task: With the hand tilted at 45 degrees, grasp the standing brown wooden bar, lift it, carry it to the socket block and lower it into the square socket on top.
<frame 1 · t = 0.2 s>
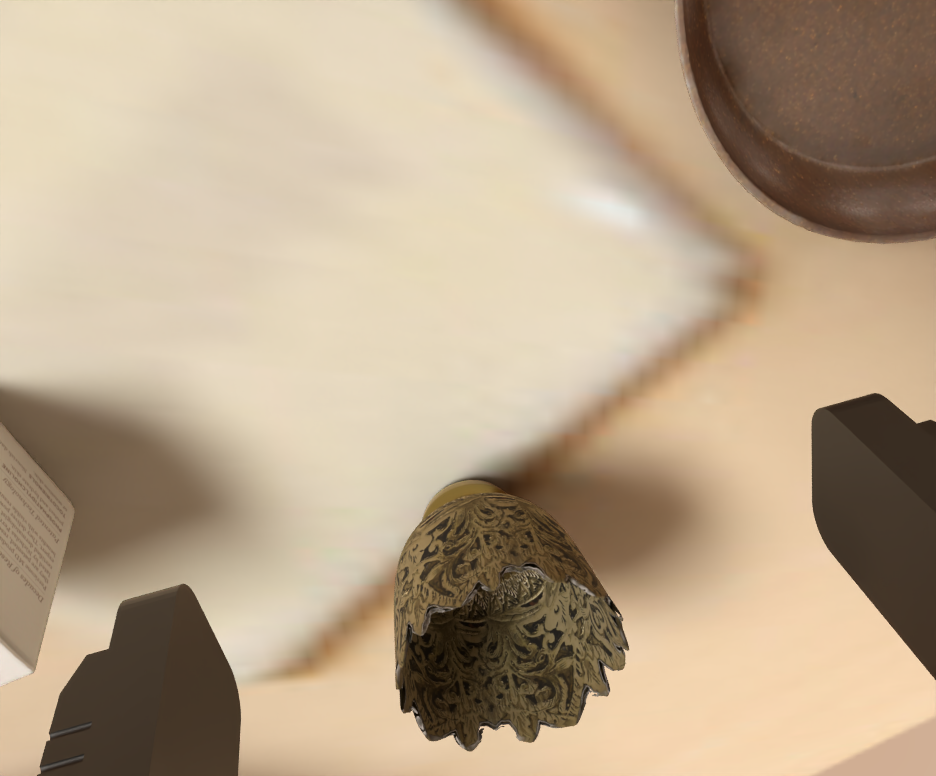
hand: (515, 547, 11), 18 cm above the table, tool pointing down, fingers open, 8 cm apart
cup: (464, 506, 35), on the table
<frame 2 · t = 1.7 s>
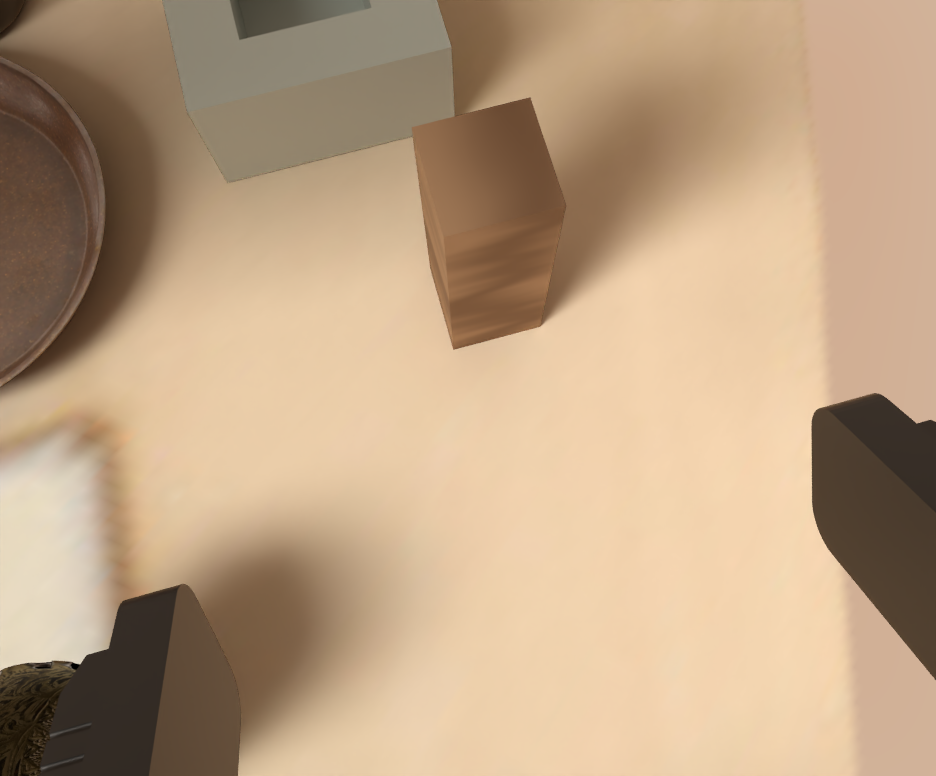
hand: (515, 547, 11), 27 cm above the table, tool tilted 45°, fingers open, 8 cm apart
socket block: (315, 55, 44), on the table
brown wooden bar: (484, 297, 40), on the table
cup: (130, 748, 36), on the table
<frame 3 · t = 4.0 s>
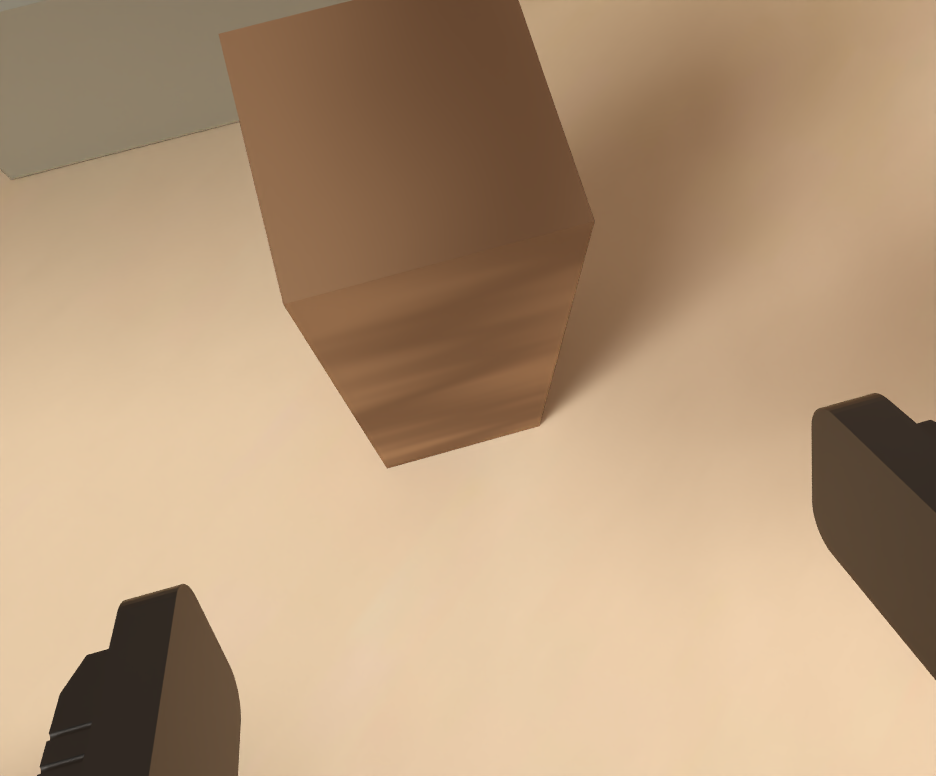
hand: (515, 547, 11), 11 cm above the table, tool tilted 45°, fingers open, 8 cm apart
brown wooden bar: (442, 373, 23), on the table
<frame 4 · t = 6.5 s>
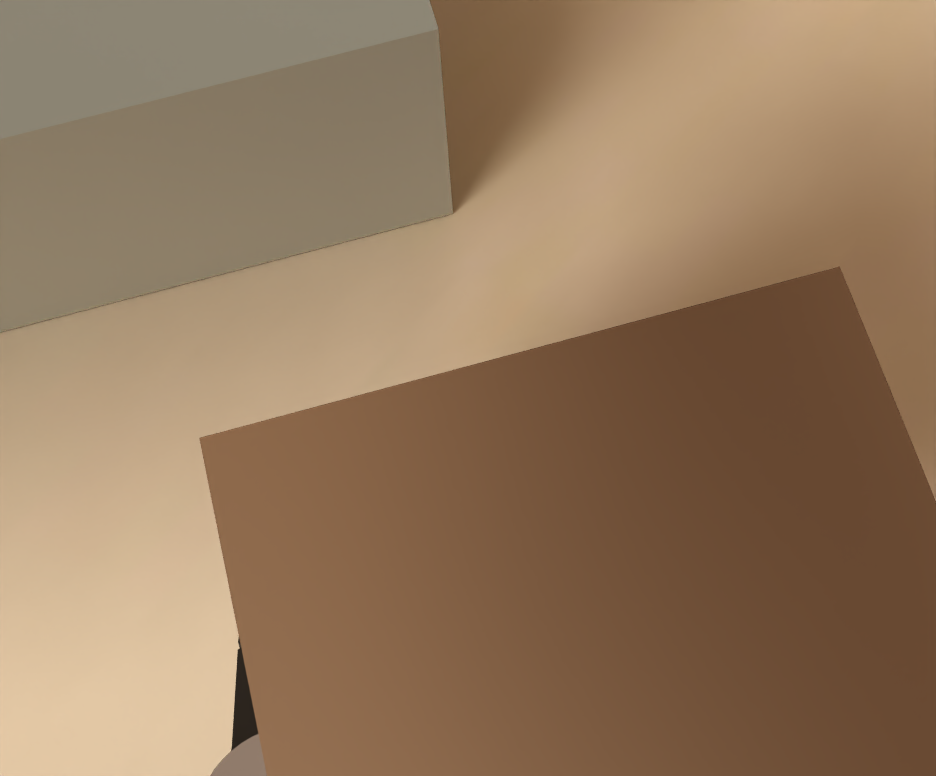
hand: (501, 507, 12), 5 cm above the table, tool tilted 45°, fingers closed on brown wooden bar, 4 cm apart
socket block: (147, 56, 20), on the table
brown wooden bar: (526, 644, 16), on the table, touching gripper
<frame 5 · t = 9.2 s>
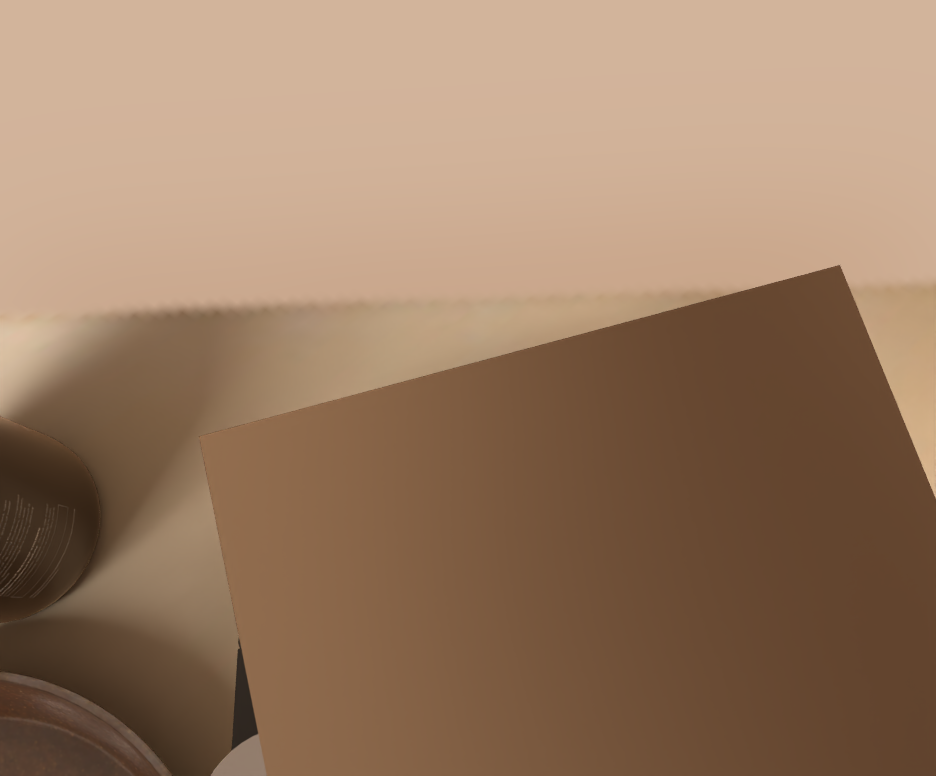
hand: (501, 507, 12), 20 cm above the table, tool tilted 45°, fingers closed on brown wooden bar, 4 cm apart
brown wooden bar: (526, 643, 16), point 15 cm above the table, touching gripper
supplement bottle: (14, 527, 32), on the table
when the fingers open (8 cm above the table, at t = 12.3 s): brown wooden bar drops 1 cm, resting on socket block.
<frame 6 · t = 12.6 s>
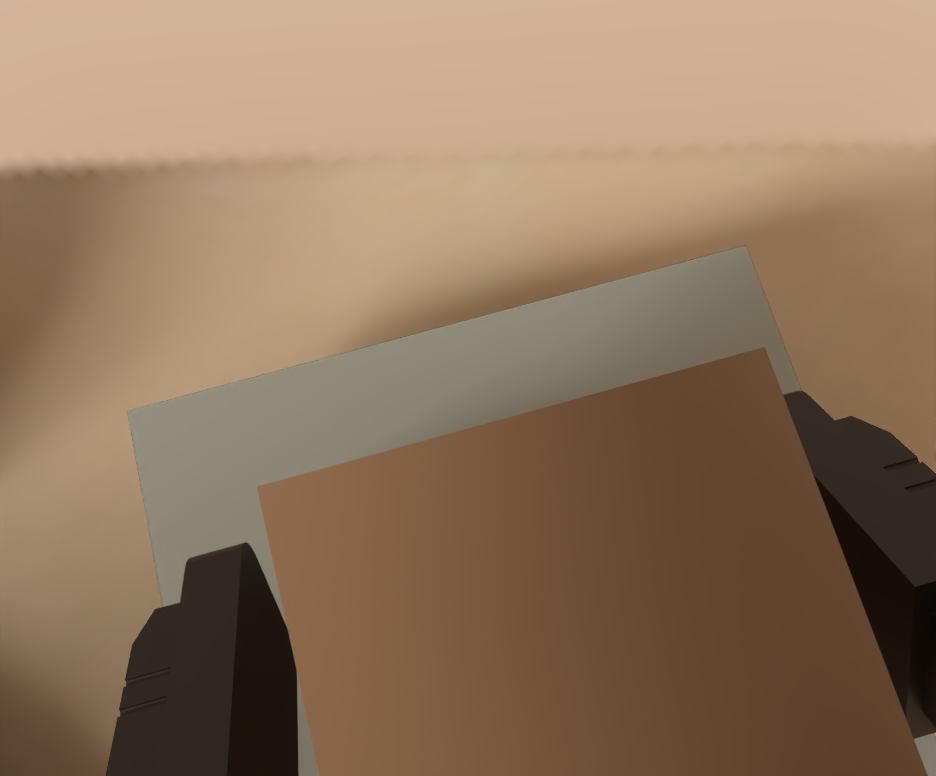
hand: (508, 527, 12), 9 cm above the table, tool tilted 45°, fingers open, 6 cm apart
socket block: (519, 641, 20), on the table
brown wooden bar: (523, 645, 18), point 2 cm above the table, touching socket block
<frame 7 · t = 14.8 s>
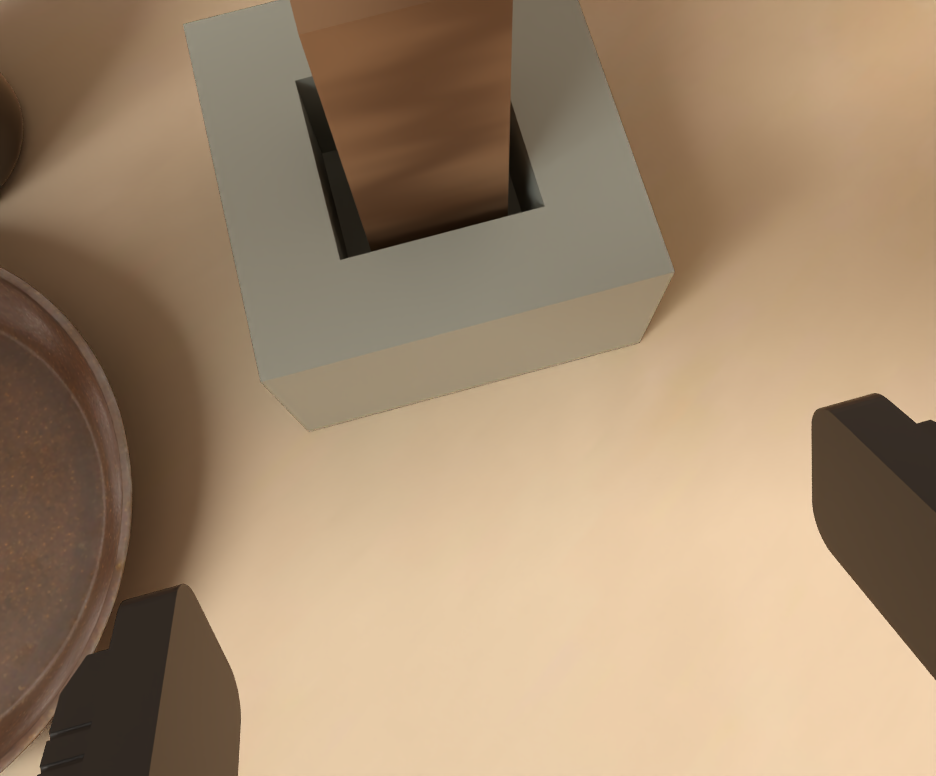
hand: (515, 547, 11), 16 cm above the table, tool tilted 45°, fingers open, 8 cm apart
socket block: (432, 234, 30), on the table
brown wooden bar: (428, 209, 28), point 2 cm above the table, touching socket block
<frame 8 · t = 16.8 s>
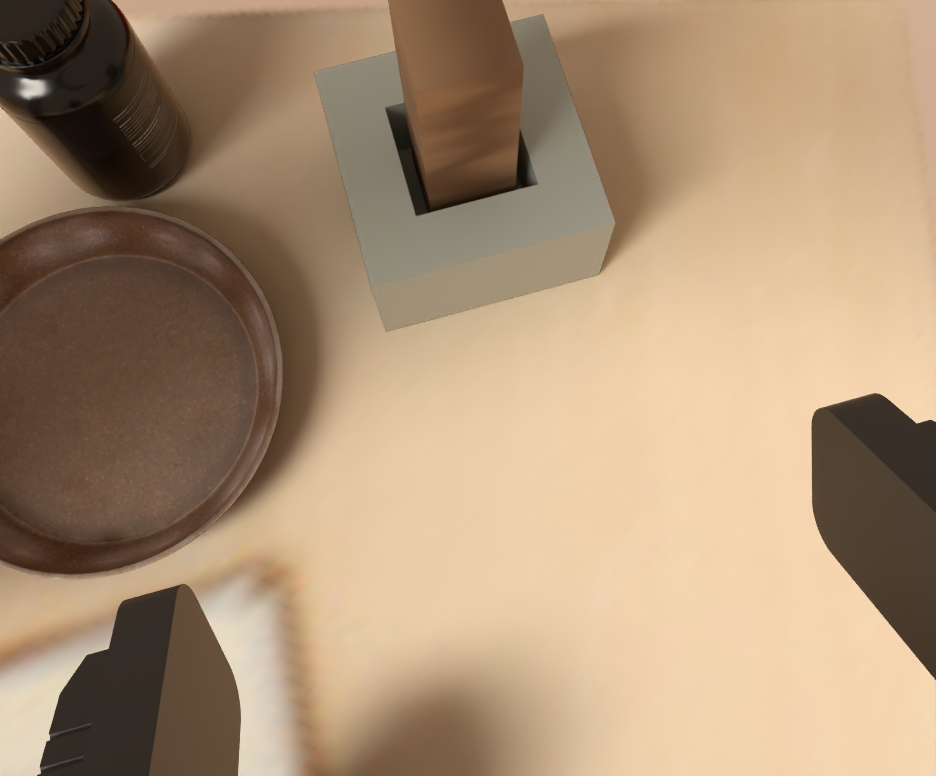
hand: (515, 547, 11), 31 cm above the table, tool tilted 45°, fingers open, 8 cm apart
socket block: (463, 205, 46), on the table
brown wooden bar: (463, 188, 44), point 2 cm above the table, touching socket block
supplement bottle: (129, 148, 47), on the table
plant saucer: (117, 399, 44), on the table
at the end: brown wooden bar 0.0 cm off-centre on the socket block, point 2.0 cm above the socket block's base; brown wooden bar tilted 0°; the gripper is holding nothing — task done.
